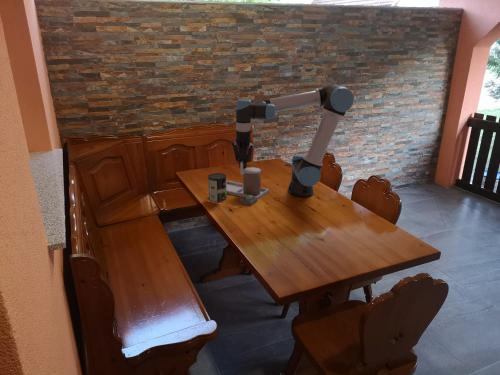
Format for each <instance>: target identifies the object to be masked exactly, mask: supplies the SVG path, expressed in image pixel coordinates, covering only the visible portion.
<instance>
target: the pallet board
mask: <svg viewBox="0 0 500 375" xmlns="http://www.w3.org/2000/svg"><path fill="white" fill-rule="evenodd" d="M226 190H227V195H232V196H233V195H234V196H237V197H241V198H243V197H245V195H247V194H243V182H242V183H241V182H237V181H232V180H226ZM268 193H270V188H265V187H261V189H260V194H259V195H258V196H253V197H257V198H258V200H259V199H261V198H262V197H264V196H265V195H267V194H268Z"/></svg>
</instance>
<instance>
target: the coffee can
mask: <svg viewBox="0 0 500 375" xmlns="http://www.w3.org/2000/svg"><path fill="white" fill-rule="evenodd" d="M226 181H227V175H226V174H224V173H221V172H217V173H215V172H214V173H210V174H208V175H207V184H208V185H207V186H208V202H211V203H213V204H221V203H222V201H226V200H227V199H228V198H227V197H228V196H227V195H228V193H227V190H226Z"/></svg>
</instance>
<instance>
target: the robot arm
mask: <svg viewBox="0 0 500 375" xmlns="http://www.w3.org/2000/svg"><path fill="white" fill-rule="evenodd" d="M354 102H355V97H354V93H353V92H352V91H351V89H349V88H348V87H346V86H343V85H339V84H331V85H326V86H323V87H318V88H317V87H316V88H315V90H313V91H306V92H301V93H296V94H290V95H284V96H279V97H273V98H268V99H267V98H266V99H257V100H255V101H254V102H253V103H252V100H250V99H247V98H246V99H245V98H241V99H237V101H236V107H235V116H236V117H235V118H236V119H235V130H236V131H235V138H236V139H235V140H234V141H233V142H231V145H232V148H233V153H234V158H235V161H237V162H238V168H239V175H241V176H243V174H245V168H248V167H247V163H249V162H251V158H252V155H253V152H254V151H253V150H254V148H255V147H256V145H255V144H253V143H252V141H251V136H252V134H251V133H252V132H251V129H252V128H251V127H252V125H251V124H252V123H251V122H252V120H273V119H275V116H276V113H278V112H283V111H284V112H285V111H289V110H294V109H295V110H296V109H301V108H306V107H308V108H309V107H312V106H317V107H322V111H323V114H322V116H321V117H322V118H321V119H320V121H319V124H318V127H317V129H316V132H315V134H314V136H313V138H312V141H311V144H310V146H309V149H308V150H307V153H306V154H305V153H299V154H294V155H293V156H292V157H291V158H292V159H291V177H290V178H291V179H290V182H289V184H288V187H287V191H288V193H289V194H290V195H291V196H294V197H297V198H306V197H307V198H308V197H311V196H313V194H314V192H315V191H314V190H315V189H314V186H315V185H317V184H318V183H319V182H320V180H321V174H322V173H321V171H322V168H323V165H324V164H323V158H324V156H325V154H326V152H327V150H328V147H329V145H330V142H331V140H332V138H333V135H334V134H335V131H336V128H337V126H338V124H339V121H340V119H341V118H345V115H346V112H347V111H349V110H350V109H351V108H352V106H353V104H354Z"/></svg>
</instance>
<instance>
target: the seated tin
mask: <svg viewBox="0 0 500 375" xmlns="http://www.w3.org/2000/svg"><path fill="white" fill-rule="evenodd" d="M242 176H243V178H242V184H243V194H247V195H252V196H258V195H259V194H260V189H261V188H262V187H261V184H262V182H261V179H262V170H261V168H258V167H253V166H251V167H246V168H245V174H243V175H242Z"/></svg>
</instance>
